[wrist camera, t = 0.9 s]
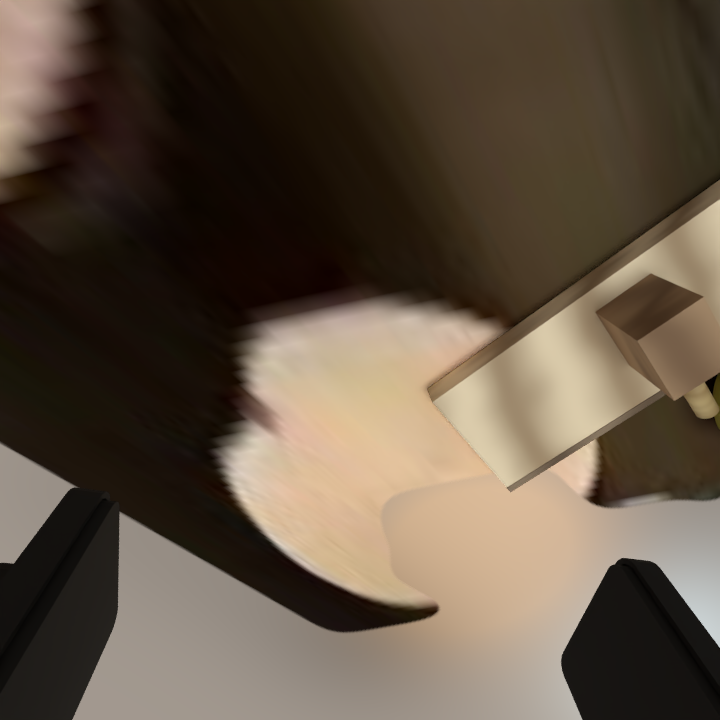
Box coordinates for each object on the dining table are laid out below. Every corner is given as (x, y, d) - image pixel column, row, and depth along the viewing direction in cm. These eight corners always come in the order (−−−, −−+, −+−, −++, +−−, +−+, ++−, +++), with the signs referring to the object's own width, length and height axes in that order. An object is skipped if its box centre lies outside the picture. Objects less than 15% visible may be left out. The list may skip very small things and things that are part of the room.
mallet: (650, 273, 32) (703, 296, 27) (709, 376, 35) (765, 412, 30) (594, 312, 33) (637, 341, 28) (657, 408, 36) (704, 448, 31)
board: (738, 165, 31) (764, 168, 29) (793, 288, 35) (819, 297, 33) (427, 388, 37) (432, 402, 35) (502, 475, 40) (510, 492, 38)
